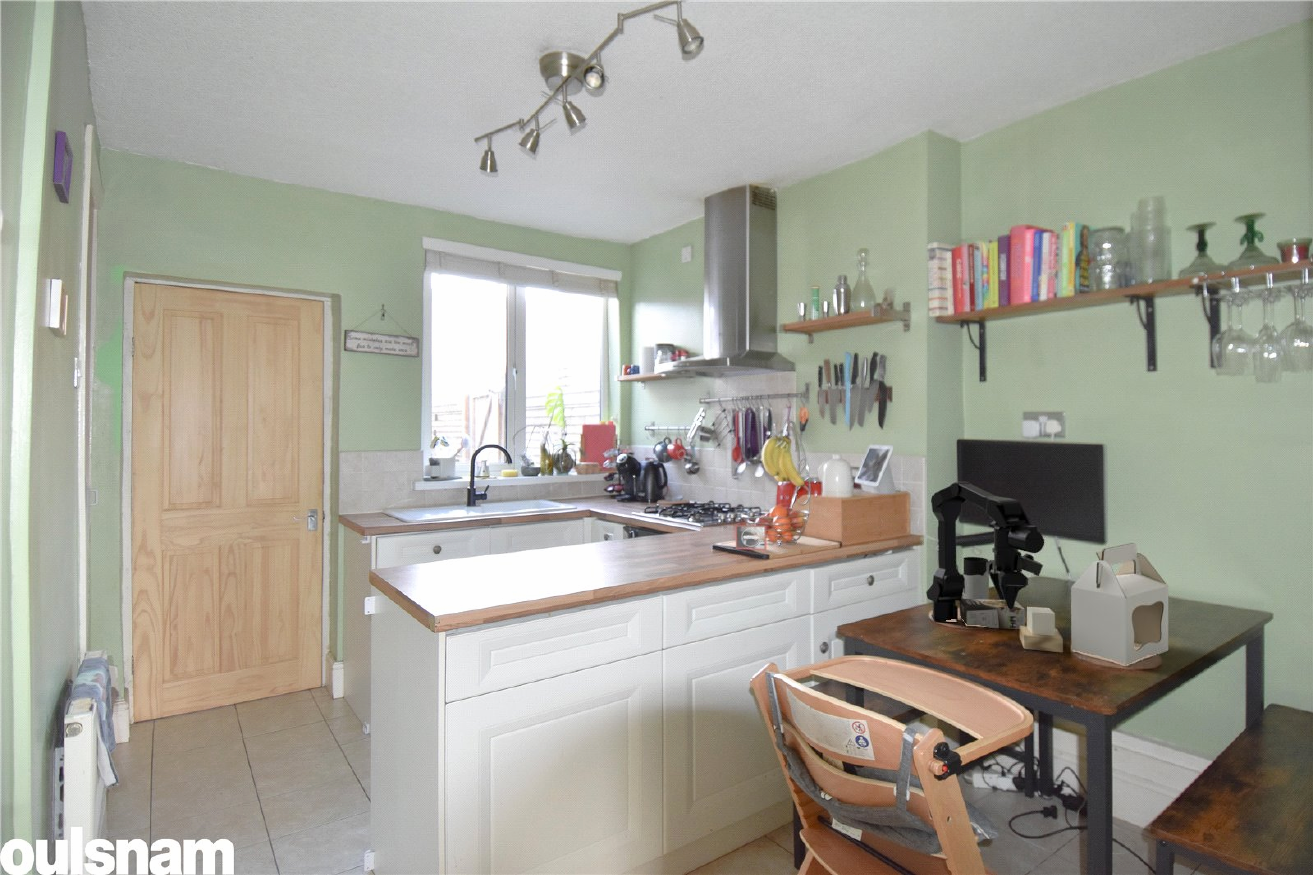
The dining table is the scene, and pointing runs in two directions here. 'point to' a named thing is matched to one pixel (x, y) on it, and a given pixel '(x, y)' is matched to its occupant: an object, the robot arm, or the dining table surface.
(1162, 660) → the dining table surface
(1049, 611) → the off-white plain cube
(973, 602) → the coffee box
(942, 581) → the robot arm
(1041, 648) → the oak block
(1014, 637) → the dining table surface
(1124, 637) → the gable box
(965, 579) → the glass holder
